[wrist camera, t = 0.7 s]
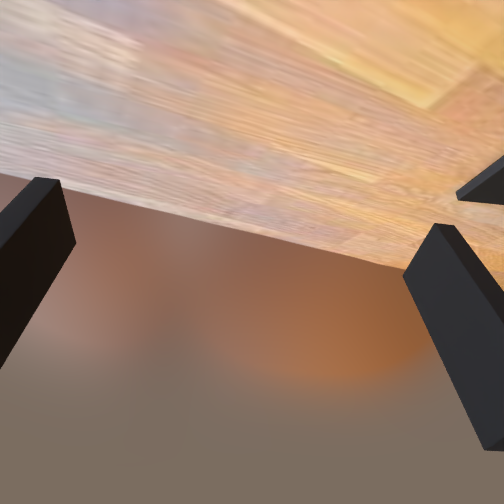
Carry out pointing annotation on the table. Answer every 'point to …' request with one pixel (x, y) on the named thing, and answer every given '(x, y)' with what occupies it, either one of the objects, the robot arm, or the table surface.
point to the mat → (485, 186)
